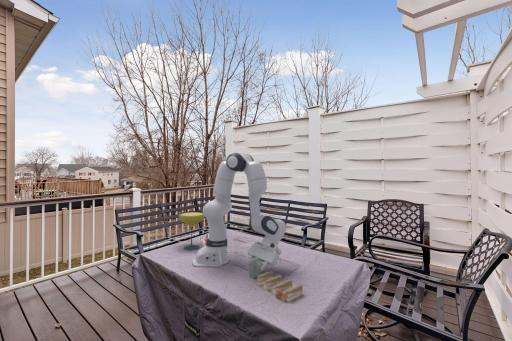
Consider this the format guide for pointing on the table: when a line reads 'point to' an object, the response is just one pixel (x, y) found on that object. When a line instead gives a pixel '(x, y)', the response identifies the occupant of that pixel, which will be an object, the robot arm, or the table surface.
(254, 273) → the block
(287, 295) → the rack
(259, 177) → the robot arm
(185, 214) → the cocktail glass
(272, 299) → the table surface
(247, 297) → the table surface
